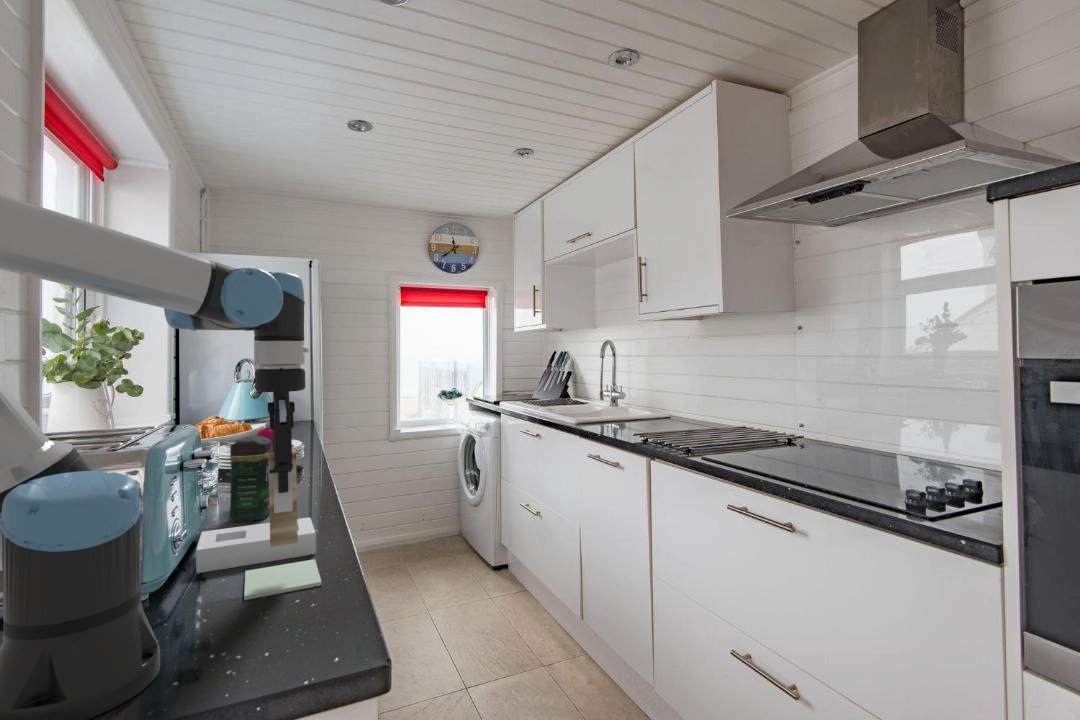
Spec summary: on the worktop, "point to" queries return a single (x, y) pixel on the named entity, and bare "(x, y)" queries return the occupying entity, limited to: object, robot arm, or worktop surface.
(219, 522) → the worktop surface
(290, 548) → the white box
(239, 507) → the coffee jar
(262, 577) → the mat
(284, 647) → the worktop surface
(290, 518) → the tan wooden tall block
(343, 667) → the worktop surface
